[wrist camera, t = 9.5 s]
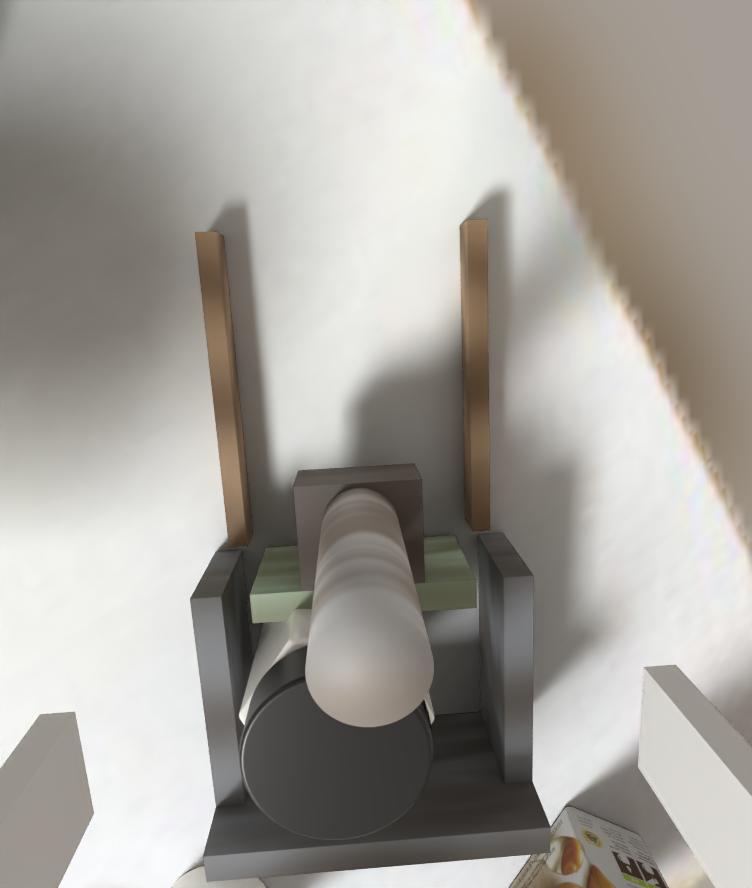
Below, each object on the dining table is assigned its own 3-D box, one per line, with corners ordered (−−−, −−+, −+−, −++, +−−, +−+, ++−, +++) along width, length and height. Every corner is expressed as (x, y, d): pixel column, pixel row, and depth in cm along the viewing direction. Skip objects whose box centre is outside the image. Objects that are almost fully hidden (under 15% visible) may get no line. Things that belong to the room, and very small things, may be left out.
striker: (257, 459, 34) (161, 618, 16) (452, 447, 34) (565, 590, 17) (268, 571, 35) (190, 829, 18) (455, 559, 36) (561, 799, 18)
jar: (432, 646, 37) (471, 799, 26) (315, 703, 38) (302, 878, 26) (366, 525, 35) (376, 630, 24) (244, 586, 36) (195, 719, 24)
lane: (180, 238, 32) (116, 209, 23) (501, 223, 32) (560, 189, 23) (238, 751, 38) (206, 881, 29) (504, 730, 39) (550, 852, 30)
